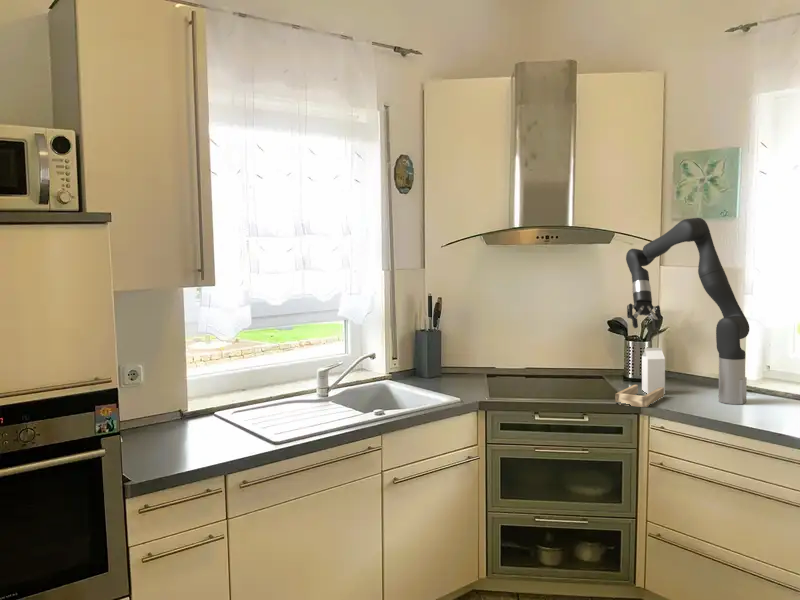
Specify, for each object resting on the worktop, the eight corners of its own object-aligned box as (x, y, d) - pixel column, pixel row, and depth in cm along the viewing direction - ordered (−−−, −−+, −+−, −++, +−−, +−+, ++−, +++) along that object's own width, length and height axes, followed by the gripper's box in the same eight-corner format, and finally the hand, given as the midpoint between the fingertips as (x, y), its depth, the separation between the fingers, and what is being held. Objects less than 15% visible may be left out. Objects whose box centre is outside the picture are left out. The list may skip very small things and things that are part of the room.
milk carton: (665, 394, 279) (665, 349, 278) (647, 395, 279) (647, 349, 278) (658, 391, 286) (658, 346, 285) (641, 391, 286) (641, 346, 285)
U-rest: (663, 397, 275) (663, 387, 274) (646, 407, 259) (646, 397, 259) (634, 394, 282) (634, 384, 282) (615, 403, 266) (615, 393, 266)
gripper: (630, 288, 291) (633, 324, 286) (661, 290, 293) (665, 326, 288) (622, 294, 298) (625, 329, 293) (653, 296, 300) (656, 331, 295)
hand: (645, 328), depth 290 cm, fingers open, 8 cm apart
